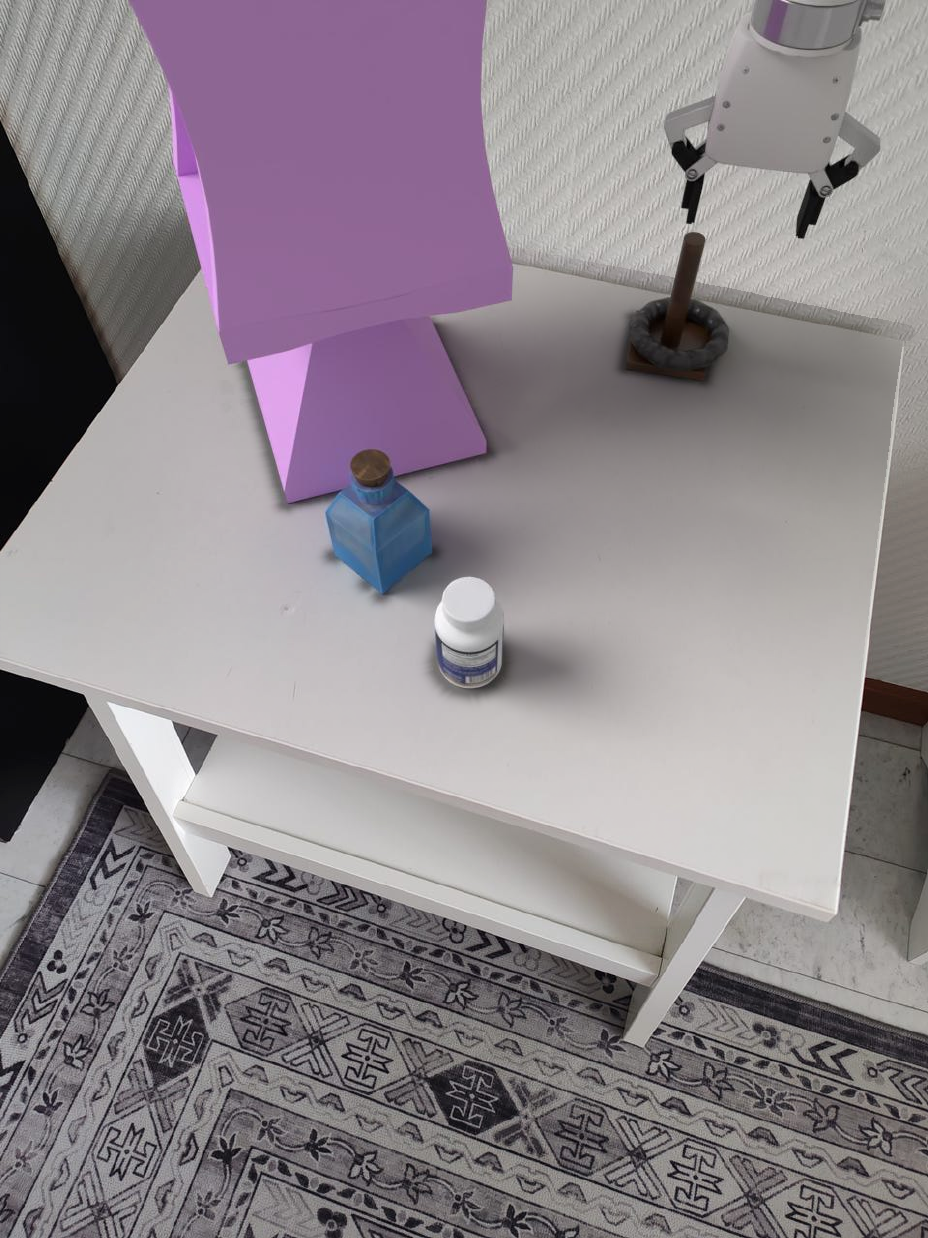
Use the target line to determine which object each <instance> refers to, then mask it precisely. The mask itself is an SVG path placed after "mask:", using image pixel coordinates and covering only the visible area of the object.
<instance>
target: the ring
mask: <svg viewBox="0 0 928 1238" xmlns="http://www.w3.org/2000/svg"><path fill="white" fill-rule="evenodd" d="M669 301H670V296H668V297H663V298H659V299H654V300H651V301H649V302H648V303H646V304H645V305H644V306H642V307H641V308H639V310H637V311H638V312H637V311H636V312H637V313H636V312H635V313H634V314H633V316H632V318H631V323H630V327H629V335H628V337H629V341H630V343H631V342H632V344H633V345H634V347H635V349H636V350H637V352H638V354H639V355H640V356H641V357H642V358H644V359H645V360H647V361H649V362H651V363H652V364H654V365H656V366H658V367H659V368H662V369H668V370H675V371H682V372H688V371H693V370H697V369H701V368H705V367H706V368H708V367H712V365H713V364H715V363H716V362H717V361H718V360H719V359H720V358H721V357H722V356H724V354H725V353H726V352H727V351H728V348H729V339H730V327H729V325H728V324H727V322H726V321H725V319H724V317H723V316H722V315H721V313H720V312H719V311H718V310H717V309H716V308H714V307H712V306H710V305H708V304H706V303H705V302H703V301H701V300H698V299H697V298H696V299H695V298H691V301H690V305H689V309H688V313H687V317H686V319H690V320H692V321H694V322H696V323H698V324H700V325H701V326H703V327H704V329H705V330H706V332H707V333H708V335H709V338H708V342H707V343H706V344H705V345H704V346H702V347H701V348H697V349H693V350H689V351H683V350H676V349H669V348H667V347H665V346H663V345H662V344H660V343H658V342H656V341H655V340H654V338H653V337H652V335H651V334H650V326H651V325H652V324H654V323H655V322H656V321H657V320H660V319H664V318H666V314H667V310H668V305H669Z"/></svg>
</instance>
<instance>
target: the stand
mask: <svg viewBox="0 0 928 1238" xmlns="http://www.w3.org/2000/svg"><path fill="white" fill-rule="evenodd" d="M706 241H707V239H706V236H705V235H704V234H702V233H700V232H697V231H690V232H687V233H685V234H684V235H683V240H682V244H681V248H680V252H679V257H678V262H677V265H676V270H675V274H674V275H675V276H674V279H673V284H672V288H671V292H670V293H671V294H670V296H669V297H670V301H669V305H668V310H667V314H666V318H664V319H660V320H657V321H656V322H655V323H654V324H652V325H651V326H650V334H651V335H652V337H653V338H654V340H655V341H656V342H658V343H660V344H662V345H663V346H665V347H667V348H669V349H676V350H683V351H689V350H693V349H697V348H701V347H702V346H704V345H705V344H706V343H707V342H708V338H709V335H708V333H707V332H706V330H705V329H704V327H703V326H701V325H700V324H698V323H696V322H694V321H692V320H690V319H686V317H687V313H688V309H689V305H690V301H691V299H692V298H693V297H692V296H693V292H694V289H695V284H696V281H697V276H698V272H699V269H700V265H701V261H702V257H703V252H704V249H705V244H706ZM638 311H639V310H636V312H635V313H637V312H638ZM625 369H626V370H630V371H631V370H632V371H637V372H643V373H652V374H656V375H663V376H671V377H678V378H683V379H690V380H697V381H705V377H706V373H707V367H705V368H701V369H697V370H693V371H688V372H682V371H675V370H668V369H662V368H659V367H658V366H656V365H654V364H652V363H651V362H649V361H647V360H645V359H644V358H642V357H641V356H640V355H639V354H638V352H637V350H636V349H635V347H634V345H633V344H632V342H631V341H630V344H629V349H628V353H627V359H626V364H625Z"/></svg>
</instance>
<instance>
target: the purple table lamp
mask: <svg viewBox="0 0 928 1238" xmlns="http://www.w3.org/2000/svg"><path fill="white" fill-rule="evenodd" d="M127 1H128V3H129V5H130V6H131V9H132V11H133V13H134V14H135V16H136V18H137V20H138V22H139V24H140V26H141V28H142V31H143V32H144V34H145V36H146V38H147V41H148V43H149V45H150V47H151V49H152V51H153V53H154V56H155V57H156V59H157V62H158V64H159V66H160V68H161V70H162V72H163V75H164V77H165V80H166V82H167V84H168V91H169V101H170V114H171V127H172V128H171V130H172V131H171V132H172V133H171V134H172V156H173V157H172V163H173V166H174V170H175V174H176V177H177V181H178V185H179V189H180V192H181V197H182V200H183V204H184V208H185V211H186V215H187V218H188V222H189V226H190V230H191V234H192V238H193V241H194V245H195V249H196V253H197V256H198V260H199V264H200V267H201V271H202V275H203V278H204V283H205V287H206V290H207V294H208V298H209V302H210V306H211V309H212V314H213V318H214V321H215V324H216V325H215V326H216V328H217V333H218V335H219V339H220V342H221V345H222V348H223V352H224V354H225V358H226V362H227V365H233V364H237V363H242V362H247V365H248V369H249V372H250V376H251V380H252V382H253V386H254V390H255V394H256V397H257V400H258V401H257V402H258V404H259V407H260V411H261V415H262V418H263V422H264V426H265V430H266V433H267V436H268V439H269V444H270V446H271V450H272V454H273V457H274V461H275V464H276V468H277V472H278V474H279V478H280V481H281V485H282V489H283V492H284V496H285V499H286V500H285V501H286V503H287V504H292V503H295V502H299V501H303V500H307V499H311V498H315V497H318V496H323V495H327V494H331V493H334V492H338V491H339V492H340V491H342V490H344V489H345V488H346V487H347V486H349V485H350V484H351V480H350V472H351V468H350V462H351V460H352V458H353V457H354V456H355V455H356V454H357V453H359V452H361V451H363V450H367V449H376V450H380V451H382V452H384V453H385V454H386V455H387V456H388V457H389V459H390V466H391V467H392V469H393V473H394V477H398V476H401V475H406V474H409V473H413V472H417V471H421V470H425V469H429V468H433V467H437V466H440V465H441V466H442V465H445V464H449V463H452V462H456V461H460V460H464V459H468V458H469V459H470V458H472V457H476V456H481V455H484V454H487V439H486V436H485V435H484V432H483V430H482V428H481V426H480V423H479V421H478V419H477V416H476V414H475V412H474V410H473V408H472V406H471V404H470V401H469V400H468V396H467V395H466V393H465V390H464V388H463V386H462V383H461V382H460V379H459V378H458V375H457V373H456V371H455V368H454V366H453V363H452V361H451V360H450V357H449V355H448V353H447V351H446V349H445V347H444V345H443V343H442V342H443V341H442V340H441V338H440V336H439V333H438V331H437V329H436V326H435V324H434V322H433V320H432V318H431V317H433V316H434V317H435V316H443V315H449V314H457V313H458V314H459V313H463V312H466V311H470V310H476V309H479V308H485V307H488V306H493V305H498V304H501V303H507V302H510V301H511V302H512V300H513V281H514V280H513V278H514V266H513V262H512V257H511V254H510V249H509V246H508V243H507V240H506V235H505V231H504V229H503V224H502V221H501V217H500V213H499V208H498V205H497V200H496V196H495V192H494V188H493V181H492V176H491V171H490V170H491V169H490V165H489V159H488V155H487V149H486V143H485V142H486V140H485V130H484V119H483V108H482V69H483V46H484V45H483V43H484V36H485V35H484V34H485V25H486V15H487V6H488V0H127Z"/></svg>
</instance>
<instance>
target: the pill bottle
mask: <svg viewBox="0 0 928 1238" xmlns="http://www.w3.org/2000/svg"><path fill="white" fill-rule="evenodd" d="M504 615H505V614H504V611H503V608H502V606H501V604H500V603H499V601H498V599H496V594H495V591H494V589H493V588H492V586H491V585H490V584H489V583H488V582H487V581H485V580H484V579H482V578H478V577H474V576H463V577H459V578H457V579H454V580H453V581H451V582H449V584H448V585H447V586H445V589H444V590H443V593H442V597H441V600H440V602H439V603H438V605H437V608H436V610H435V613H434V621H433V622H434V635H435V645H436V657H437V663H438V668H439V671H440V672H441V674H442V676H443V677H444V678H445V680H447V681H448V682H450V683H451V684H453V685H454V686H457V687H460V688H464V689H477V688H481V687H484V686H486V685H489V684H490V683H491V682H493V680H494V679H496V677H497V676H498V674H499V673H500V671H501V668H502V665H503V657H504V634H505V633H504V632H505V616H504Z"/></svg>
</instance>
